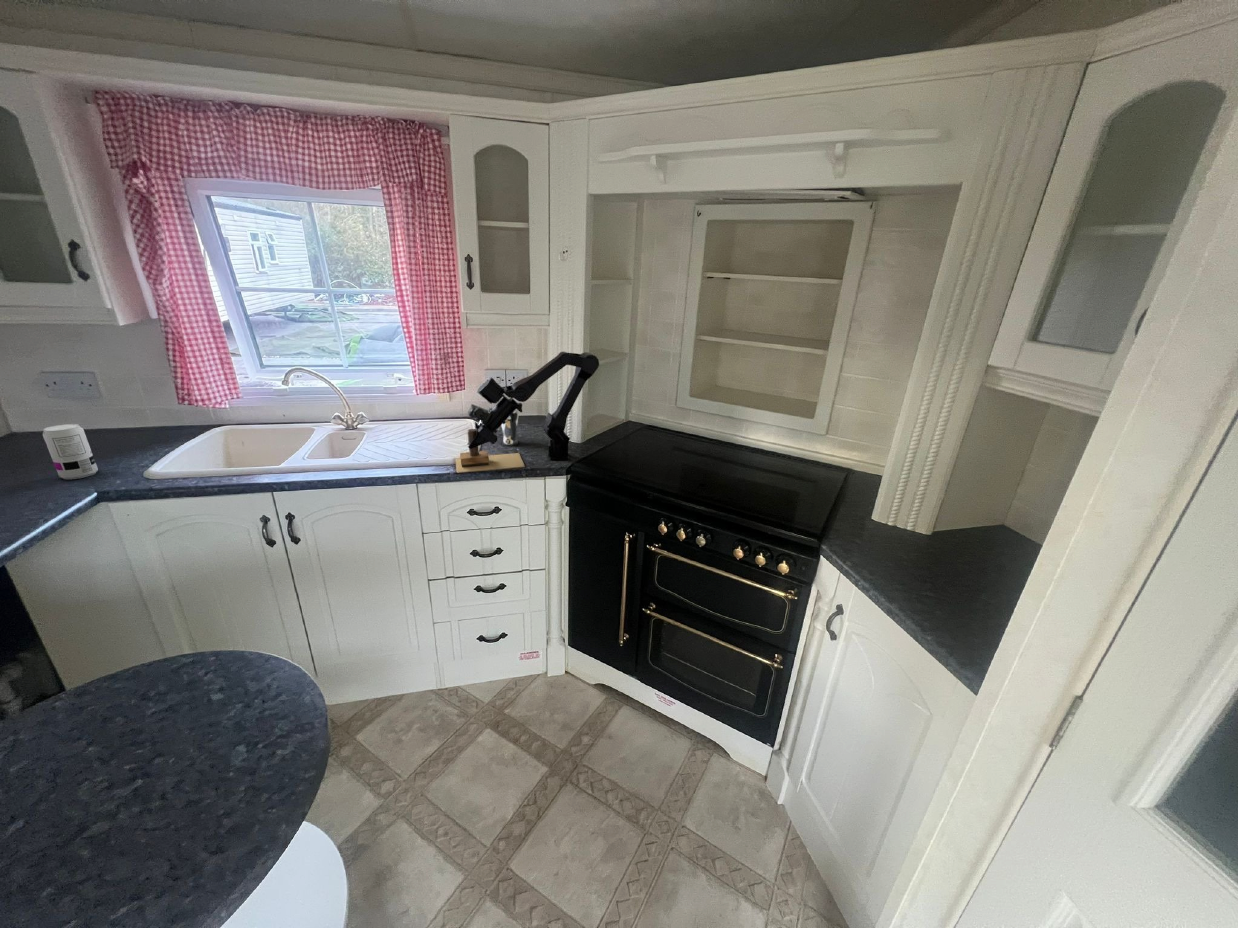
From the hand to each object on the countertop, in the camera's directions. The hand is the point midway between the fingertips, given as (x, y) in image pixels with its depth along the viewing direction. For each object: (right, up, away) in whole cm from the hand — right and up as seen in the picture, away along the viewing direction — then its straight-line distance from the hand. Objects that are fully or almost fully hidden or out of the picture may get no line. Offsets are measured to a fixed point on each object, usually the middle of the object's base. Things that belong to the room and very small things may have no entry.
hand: (468, 446), depth 165 cm
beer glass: (+8, +2, +25) cm, 26 cm away
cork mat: (+6, -5, +5) cm, 9 cm away
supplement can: (-112, -9, -16) cm, 114 cm away
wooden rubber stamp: (+1, -6, +3) cm, 6 cm away
